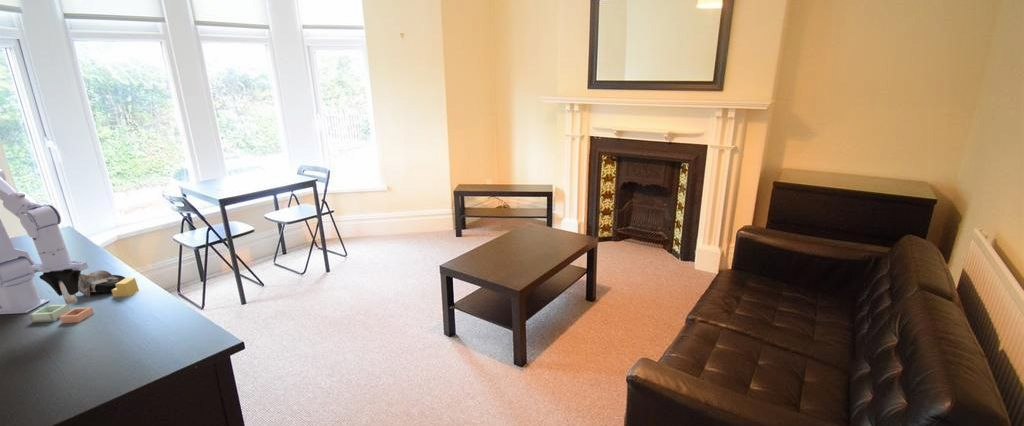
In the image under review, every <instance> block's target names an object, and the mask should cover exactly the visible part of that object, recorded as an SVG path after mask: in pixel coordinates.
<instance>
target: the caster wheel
mask: <svg viewBox="0 0 1024 426" xmlns="http://www.w3.org/2000/svg"><path fill="white" fill-rule="evenodd" d="M125 278H126V277H125V276H123V275H120V274H119V275H117V274H111V273H110V272H109V271H106V270H95V271H91V272H85V273H83V274H82V273H80V276H79V281H78V293H80V294H83V295H84V296H85V297H86V296H87V297H88V298H91V294H90V293H92V292H93V293H105V294H106V293H112V291H111V290H113V289H114V288H116V285H115V284H116V283H118V282H120V281H121V280H123V279H125Z"/></svg>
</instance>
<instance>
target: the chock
mask: <svg viewBox="0 0 1024 426" xmlns="http://www.w3.org/2000/svg"><path fill="white" fill-rule="evenodd" d="M115 285H116V288H114V289H113V290H111V291H112V292H111V293H112V296H113V297H114V298H117V297H130V296H132V295H134V294H135V293H137V292H139V291H140V290H139V289H140V288H139V286H138V283H137V280H136V278H135V277H128V278H126V277H125V279H123V280H121V281H120V282H118V283H116V284H115ZM138 290H139V291H138ZM136 291H137V292H136Z"/></svg>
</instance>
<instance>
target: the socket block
mask: <svg viewBox="0 0 1024 426" xmlns="http://www.w3.org/2000/svg"><path fill="white" fill-rule="evenodd" d="M70 310H71V311H69V312H67V313H65V314H64V315H62V316H60V318H59V320H60V322H61V324H67V323H68V324H70V323H71V324H72V323H81V322H82V321H83V320H85V319H87V318H89V317H90V316H92V315H93V314H95V312H94V309H93V307H89V306H88V307H75V308H73V309H70Z"/></svg>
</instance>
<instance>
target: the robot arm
mask: <svg viewBox="0 0 1024 426" xmlns="http://www.w3.org/2000/svg"><path fill="white" fill-rule="evenodd" d="M6 177H7V176H6V174H5V172H4V170H3V168H1V167H0V200H1V201H2V205H3V208H4V209H6V210H7V211H9V212H10V213H11V214H13V215H14V216H15V217H17V218H18V219H19V222H20V224H21V225H22V227H23V228H24V230H25V232H26V233H27V235H28V237H29V238H32V242H33V244H34V246H35V249H36V251H37V254H38V257H39V258H40V262H41V263H36V262H35V260H34V258H32V257H31V255H30V253H29V251H26V250H24V249H19V248H15V247H14V244H13V243H12V241H11V238H10V237H9V234H8V232H7V230H6V228H5V225H4V223H3V221H2V220H1V218H0V315H9V314H11V315H12V314H13V315H14V314H27V313H30V312H31V311H32V310H35V309H37V308H38V307H40V306H43V305H44V304H46V303H48V302H50V301H51V299H49V298H44V299H42V298H41V296H40V294H39V291H38V288H37V286H36V283H35V281H34V279H33V278H35V274H36V273H42V274H41V275H39V276H38V277H39V279H40V280H42V281H44V282H45V283H46V284H48V285H49V286H50V287H51V288H52V289H53V291H54V292H55V293H56V294H57V295H58V296H59V297H60V296H62V297H63V295H62V292H61V290H60V287H59V285H58V282H57V281H58V280H61V281H62V282H63V284H64V285H65V287H66V289H67V291H68V293H69V294H70V295H74V294H77V293H79V291H78V281H79V276H80V274H82V273H81V272H82V271H86V270H87V269H89V265H88V263H87V261H79V260H74V259H71V257H70V254H69V251H68V248H67V246H66V244H65V243H66V242H65V240H64V238H63V236H62V232H61V230H60V227H59V225H60V224H61V223H62V222H61V221H62V218H61V215H60V211H59V210H58V209H57V208H56V207H55V206H53V205H52V204H46V203H43V204H42V203H40V202H39V201H38V200H36V199H35V198H33V196H31V195H30V194H29V193H26V192H24V191H17V190H16V189H15V188H14V187H13V186H12V185H11V184H9V183H8V182H7V178H6Z"/></svg>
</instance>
